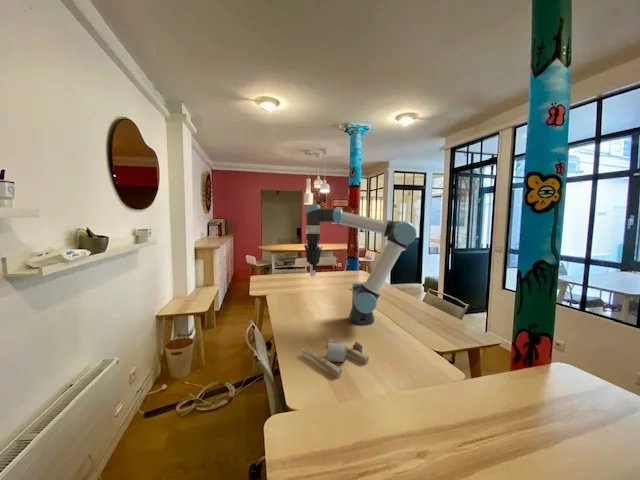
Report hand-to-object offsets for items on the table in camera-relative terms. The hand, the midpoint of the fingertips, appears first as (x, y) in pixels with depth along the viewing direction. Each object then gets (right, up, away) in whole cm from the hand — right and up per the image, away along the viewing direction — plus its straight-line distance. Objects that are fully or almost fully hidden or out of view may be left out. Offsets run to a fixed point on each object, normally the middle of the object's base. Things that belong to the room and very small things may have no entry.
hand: (312, 275), depth 157 cm
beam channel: (+12, -32, -32) cm, 47 cm away
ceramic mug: (+11, -33, -33) cm, 47 cm away
